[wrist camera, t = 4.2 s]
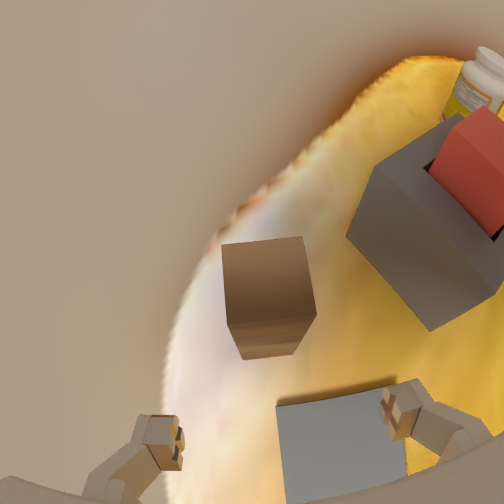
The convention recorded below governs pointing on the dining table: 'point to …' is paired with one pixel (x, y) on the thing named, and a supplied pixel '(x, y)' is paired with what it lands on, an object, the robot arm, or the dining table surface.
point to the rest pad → (337, 447)
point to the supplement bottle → (478, 85)
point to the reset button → (475, 167)
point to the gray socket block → (426, 235)
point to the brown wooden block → (267, 296)
